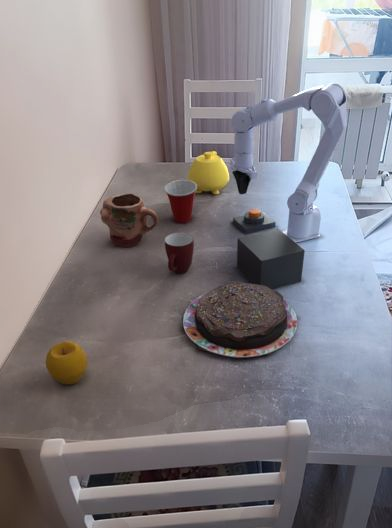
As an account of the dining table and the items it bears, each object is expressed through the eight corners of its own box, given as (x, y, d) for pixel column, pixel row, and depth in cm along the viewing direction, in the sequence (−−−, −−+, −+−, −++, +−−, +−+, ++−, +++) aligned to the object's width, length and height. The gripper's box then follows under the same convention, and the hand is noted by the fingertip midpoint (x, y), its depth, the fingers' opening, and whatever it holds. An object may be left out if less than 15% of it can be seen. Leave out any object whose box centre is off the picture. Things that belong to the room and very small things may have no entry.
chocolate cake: (164, 346, 112) (162, 324, 108) (204, 283, 133) (204, 262, 129) (283, 372, 104) (286, 349, 100) (306, 301, 125) (309, 279, 121)
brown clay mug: (168, 235, 156) (165, 195, 147) (154, 254, 146) (150, 211, 138) (111, 229, 161) (105, 189, 152) (95, 246, 151) (87, 205, 143)
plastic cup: (161, 224, 162) (158, 190, 155) (174, 210, 170) (172, 178, 163) (191, 229, 159) (189, 194, 152) (203, 215, 167) (202, 181, 159)
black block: (236, 268, 139) (237, 237, 133) (275, 258, 142) (277, 228, 136) (259, 292, 128) (261, 261, 122) (301, 281, 132) (304, 250, 126)
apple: (55, 365, 108) (46, 335, 103) (93, 363, 108) (86, 333, 103) (47, 393, 101) (38, 362, 96) (88, 391, 102) (80, 360, 96)
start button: (256, 212, 160) (256, 207, 159) (261, 217, 157) (262, 212, 156) (246, 214, 159) (247, 210, 158) (251, 219, 156) (252, 214, 155)
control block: (261, 215, 165) (262, 206, 163) (275, 226, 158) (275, 216, 156) (233, 222, 162) (233, 212, 159) (245, 233, 155) (245, 223, 153)
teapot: (195, 175, 196) (194, 141, 187) (233, 177, 193) (234, 143, 184) (184, 195, 180) (182, 159, 172) (225, 198, 177) (225, 161, 169)
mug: (187, 284, 133) (186, 252, 127) (160, 280, 135) (157, 249, 129) (198, 264, 141) (197, 233, 135) (172, 261, 143) (169, 231, 137)
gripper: (221, 145, 151) (221, 187, 159) (242, 160, 140) (241, 204, 148) (241, 142, 153) (240, 183, 161) (264, 156, 142) (261, 199, 150)
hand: (242, 193), depth 155 cm, fingers closed
